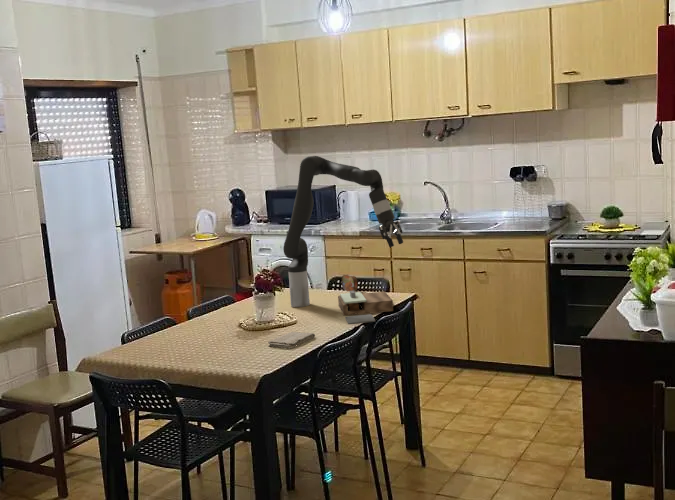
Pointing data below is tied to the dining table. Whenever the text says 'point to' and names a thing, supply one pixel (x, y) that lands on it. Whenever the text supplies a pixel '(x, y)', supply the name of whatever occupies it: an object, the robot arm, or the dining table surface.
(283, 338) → the washcloth
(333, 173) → the robot arm
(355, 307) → the block
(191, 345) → the dining table surface
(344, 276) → the tin
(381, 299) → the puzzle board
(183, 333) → the dining table surface
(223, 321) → the dining table surface
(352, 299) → the cover
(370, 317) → the rubber mat
